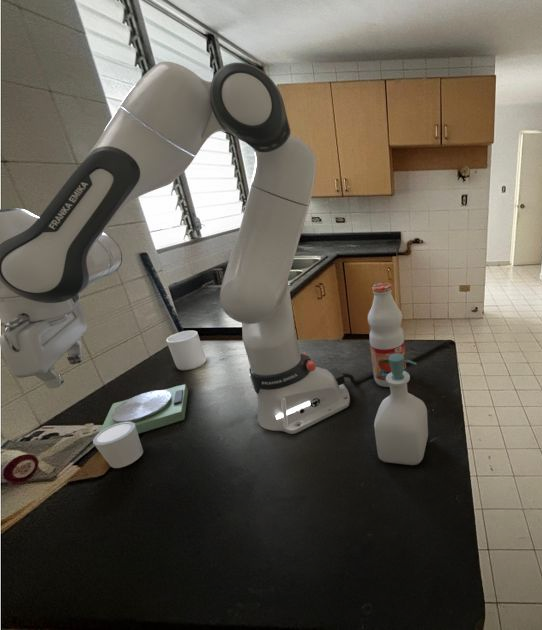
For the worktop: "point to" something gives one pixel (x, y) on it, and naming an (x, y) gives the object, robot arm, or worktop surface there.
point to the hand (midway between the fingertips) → (67, 373)
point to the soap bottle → (401, 419)
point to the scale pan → (141, 406)
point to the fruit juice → (384, 332)
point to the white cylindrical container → (119, 444)
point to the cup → (186, 350)
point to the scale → (162, 417)
